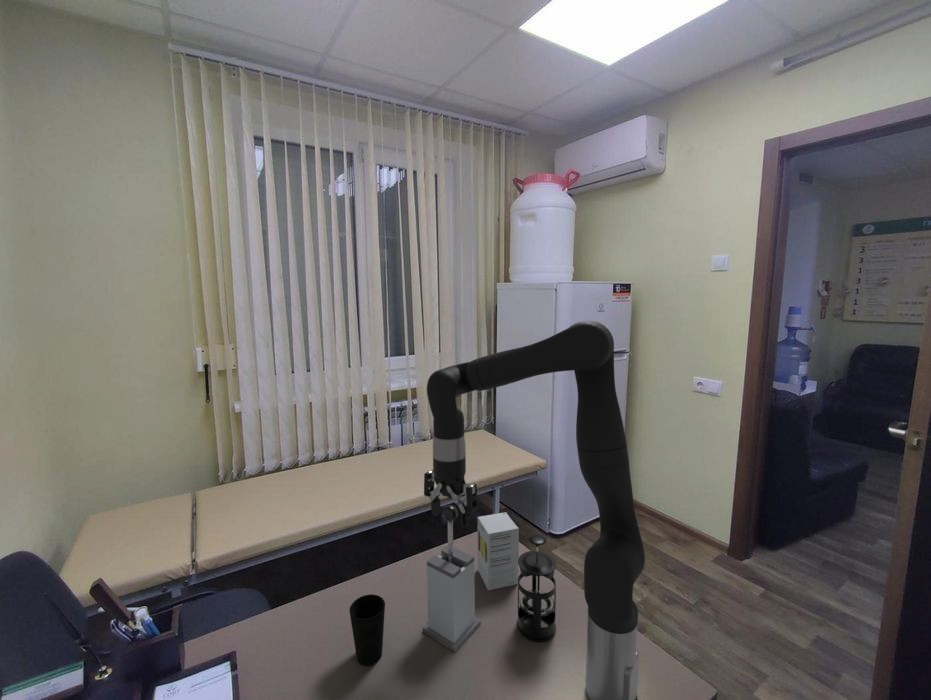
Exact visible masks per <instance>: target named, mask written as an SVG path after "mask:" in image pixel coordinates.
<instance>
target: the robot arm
mask: <svg viewBox="0 0 931 700" xmlns="http://www.w3.org/2000/svg"><path fill="white" fill-rule="evenodd" d="M570 371H573V372H574V377H575V381H576V382H575V383H576V390H577V408H576V421H575V424H576V425H575V426H576V427H575V434H576V435H575V436H576V437H575V438H576V439H575V440H576V447H577V448H576V449H577V456H578V463H579V468H580V472H581V475H582V476H583V480H584V481H585V482H586V485H587V486H588V488H589V490H590V491H591V493H592V495H593V497H594V498H595V501H596V505H597V508H598V514H599V525H600V527H599V529H600V532H599V533H600V534H599V537H598V538H597V539H596V541H595V542H594V543H593V544H591V546H590V547H589V548H588V549H587V551H586V553H585V556H584V564H583V581H584V582H583V583H584V584H583V586H584V587H583V588H584V589H583V590H584V591H583V592H584V600H585V602H586V605H587V625H586V626H587V627H586V657H585V658H586V662H585V663H586V664H585V692H586V694H587V698H588V699H589V700H636V699H637V697H636V696H638V686H639V685H638V683H639V680H638V679H639V665H640V664H639V663H640V660H639V659H640V653H639V651H637V641H638V640H637V637H638V623H639V622H638V621H639V609H638V606H637V604H636V602H635V600H634V597H633V592H634V585H635V583H636V581H637V580H638V579H639V577H640V575H641V574H642V573H643V570H644V567H645V564H646V563H645V562H646V555H645V548H644V544H643V541H642V535H641V532H640V527H639V524H638V519H637V516H636V515H637V514H636V511H635V505H634V493H633V485H632V479H631V470H630V458H629V453H628V446H627V437H626V433H625V428H624V427H625V426H624V422H623V418H622V412H621V408H620V404H619V398H618V395H617V391H616V390H617V388H616V380H615V379H616V378H615V341H614V337H613V335H612V332H611V331H610V329H608V327H606V326H605V325H604V324H602V323H601V322H599V321H593V320H583V321H582V320H581V321H579V322H575V323H574V324H572V325H570V326H569V327H567V328H565V329H564V330H562V331H560V332H557V333H556V334H553V335H552V336H549V337H547V338H545V339H541V341H537V342H534V343H531V344H529V345H524V346H521V347H516V348H511V349H508V350H507V349H506V350H503V351H498V352H494V353H490V354H488V355H485V356H481V357H477V358H475V359H473V360H470V361H467V362H462V363H459V364H458V363H457V364H455V365H451V366H450V365H449V366H447V367H444V368H441V369H438V370H435V371H434V372H433V373H431V375H430V376H429V378H428V381H427V383H426V384H427V385H426V393H427V394H426V395H427V399H428V403H429V407H430V411H431V414H432V417H433V421H432V422H433V423H432V425H433V429H432V430H433V439H432V469H431V470H428V471H427V472H424V475H423V477H424V481H423V495H424V496H425V497H428V498H429V501H430V506H431V507H430V508H431V509H430V510H431V513H432V516H434V517H437V516H439V515H440V514H441V513H442V512H441V506H442V505H441V498H440V497H441V496H443V497H448V498H449V499H451V500H452V501H453V502H454V504H455V505H457V506H458V508H459V510H460V528H463V529H465V528H467V527H468V526H469V524H471V514H472V513H473V512H474V511H476V510H478V508H479V506H478V504H479V502H478V501H479V500H478V489H477V488H478V486H477V484H476V483H475V482H472V484H470V483H467V482H466V480H465V475H466V472H467V471H466V469H467V466H466V465H467V463H466V461H467V460H466V456H467V455H466V453H467V452H466V449H467V448H466V439H465V416H464V412H463V411H462V410H461V409H460V408H458V406H457V397H459V396H462V395H465V394H467V393H471V392H476V391H478V392H481V391H482V392H483V391H487V390H490V389H496V388H499V387H503V386H506V385H509V384H513V383H517V382H519V381H523V380H525V379H530V378H532V377H536V376H537V377H538V376H540V375H547V374H551V373H552V374H553V373H558V372H570ZM435 486H436V487H435ZM460 495H461V497H460V498H459V496H460ZM635 698H636V699H635Z"/></svg>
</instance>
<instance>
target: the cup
mask: <svg viewBox="0 0 931 700" xmlns="http://www.w3.org/2000/svg"><path fill="white" fill-rule="evenodd" d="M385 610H386V602H385V599H384V598H383V597H381V596H380V595H377V594H373V593H372V594H365V595H362V596H359V597H357V598H356V599H355V600H353V602H352V603H351V605H350V607H349V616H350V623H351V631H352V636H353V637H352V638H353V643H354V648H355V655H356V656H355V657H356V661H357V663H358V665H360V666H362V667H370V666H373V665H376V664H377V663H379V662H380V660H381V658H382V656H383V646H384V644H383V643H384V642H383V641H384V630H385Z"/></svg>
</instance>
